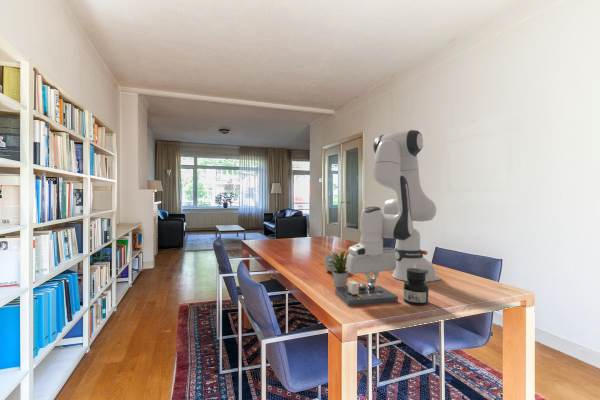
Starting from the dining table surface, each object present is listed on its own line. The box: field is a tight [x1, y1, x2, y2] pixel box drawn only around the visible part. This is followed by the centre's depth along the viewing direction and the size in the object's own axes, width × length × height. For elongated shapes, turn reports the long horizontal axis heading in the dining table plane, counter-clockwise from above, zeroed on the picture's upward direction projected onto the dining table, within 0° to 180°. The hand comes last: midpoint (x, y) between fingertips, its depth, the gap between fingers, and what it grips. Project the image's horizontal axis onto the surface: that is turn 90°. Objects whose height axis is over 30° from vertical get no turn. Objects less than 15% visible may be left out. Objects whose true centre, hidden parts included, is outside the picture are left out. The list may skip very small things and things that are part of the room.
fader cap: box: [347, 280, 359, 294], centre depth 117 cm, size 2×4×4 cm, turn 13°
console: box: [334, 282, 399, 307], centre depth 118 cm, size 20×14×4 cm
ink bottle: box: [402, 268, 430, 306], centre depth 114 cm, size 10×9×12 cm
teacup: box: [324, 254, 345, 273], centre depth 157 cm, size 14×11×8 cm
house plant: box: [326, 249, 349, 288], centre depth 135 cm, size 14×14×16 cm
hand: (371, 282), depth 119 cm, fingers closed
